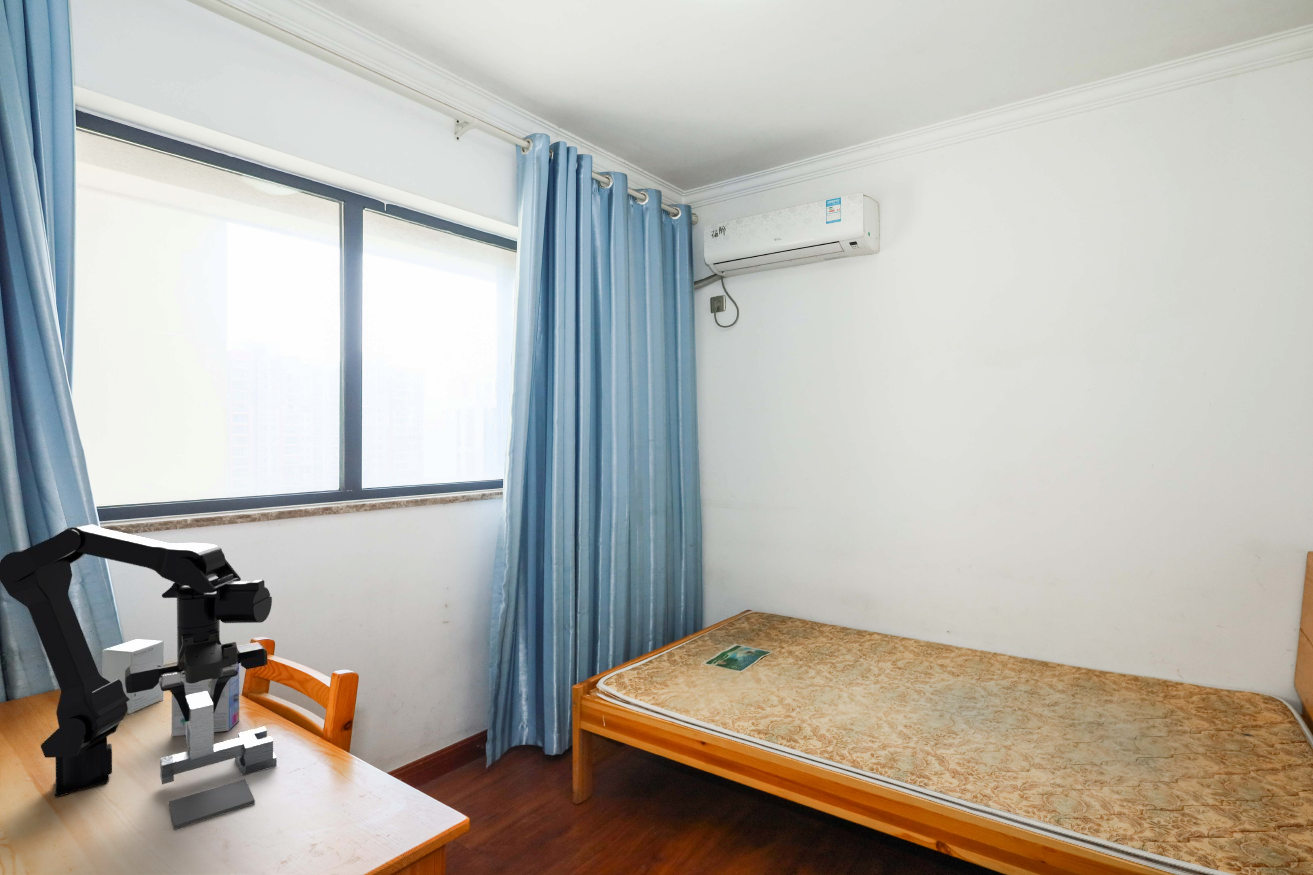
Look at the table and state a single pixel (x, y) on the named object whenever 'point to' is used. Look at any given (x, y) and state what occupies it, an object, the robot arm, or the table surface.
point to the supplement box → (132, 654)
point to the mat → (210, 803)
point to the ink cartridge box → (225, 709)
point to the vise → (226, 755)
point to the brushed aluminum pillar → (200, 725)
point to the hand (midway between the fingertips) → (199, 717)
